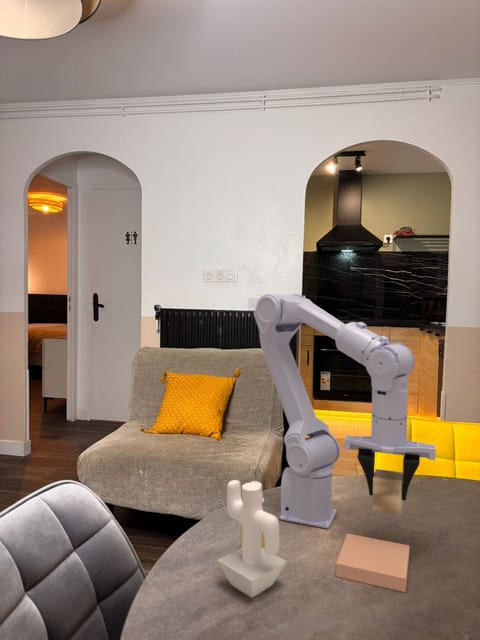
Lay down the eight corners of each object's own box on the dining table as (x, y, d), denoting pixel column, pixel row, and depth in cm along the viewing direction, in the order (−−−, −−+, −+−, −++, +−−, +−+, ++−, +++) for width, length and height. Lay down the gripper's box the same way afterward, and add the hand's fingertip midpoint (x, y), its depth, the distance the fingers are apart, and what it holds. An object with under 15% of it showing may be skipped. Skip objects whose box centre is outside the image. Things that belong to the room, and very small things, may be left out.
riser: (335, 576, 72) (336, 563, 72) (347, 544, 81) (347, 533, 81) (405, 592, 68) (405, 578, 68) (409, 557, 77) (409, 545, 77)
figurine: (257, 611, 64) (258, 501, 63) (211, 581, 70) (212, 481, 70) (292, 588, 69) (293, 487, 68) (246, 562, 75) (247, 469, 75)
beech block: (372, 510, 79) (373, 477, 79) (375, 499, 83) (375, 468, 83) (401, 514, 77) (401, 481, 77) (402, 504, 82) (403, 472, 81)
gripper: (341, 417, 78) (340, 498, 79) (436, 426, 73) (434, 512, 74) (348, 408, 85) (346, 482, 85) (435, 415, 80) (433, 495, 80)
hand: (387, 495), depth 80 cm, fingers closed on beech block, 4 cm apart
